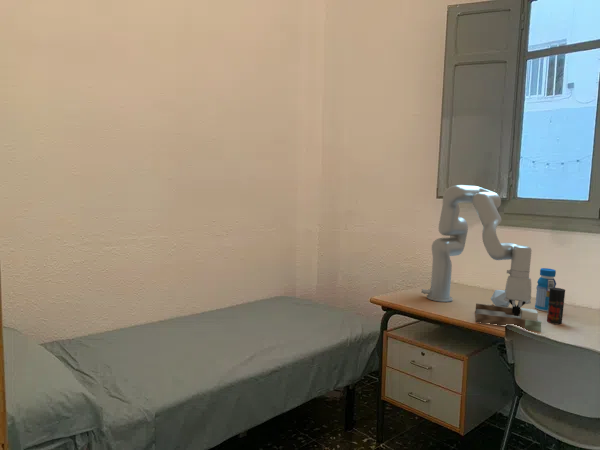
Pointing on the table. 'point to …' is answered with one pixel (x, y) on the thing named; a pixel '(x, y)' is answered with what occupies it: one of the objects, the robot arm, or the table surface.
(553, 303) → the deodorant
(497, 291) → the die
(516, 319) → the box
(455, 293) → the table surface
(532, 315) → the pale blue block
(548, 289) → the beverage bottle
